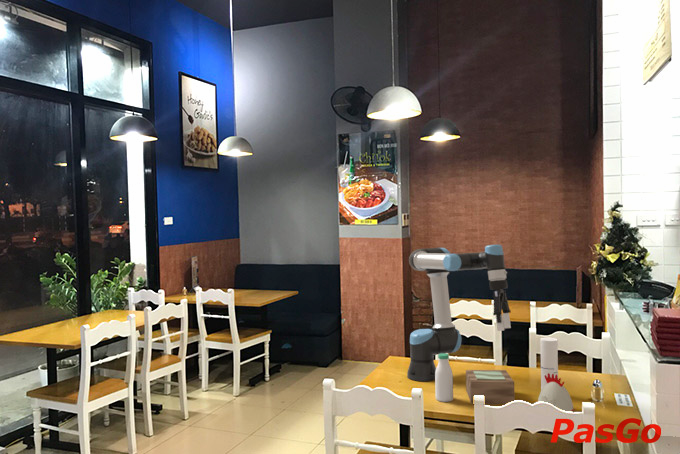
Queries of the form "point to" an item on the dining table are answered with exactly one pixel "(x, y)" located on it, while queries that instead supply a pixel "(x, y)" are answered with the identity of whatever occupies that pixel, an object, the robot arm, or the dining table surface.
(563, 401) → the kitchen timer
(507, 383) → the walnut stand
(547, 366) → the cylindrical container
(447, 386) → the milk bottle
